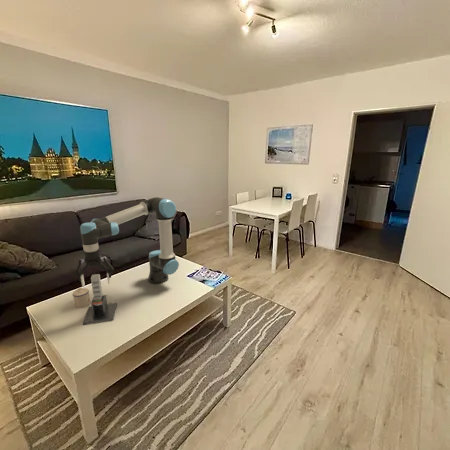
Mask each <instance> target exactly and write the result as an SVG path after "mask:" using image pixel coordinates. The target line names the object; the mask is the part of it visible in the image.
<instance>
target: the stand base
mask: <svg viewBox="0 0 450 450" xmlns="http://www.w3.org/2000/svg"><path fill="white" fill-rule="evenodd" d="M91 299H92V300H91V301H90V306H88V308H87V311H86V313H85V316H84V318H83V321H82V325H83V326H85V325H92V324H96V323H97V324H98V323H105V322H109V321H114V319H115V314H116V309H117V306H118V304H117V302H113V303H108V299H107V295H106V294H104V295H103V301H101V302H94V296H93V297H92V298H91ZM95 304H102V305H96V306H95Z"/></svg>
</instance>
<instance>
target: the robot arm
mask: <svg viewBox="0 0 450 450" xmlns="http://www.w3.org/2000/svg"><path fill="white" fill-rule="evenodd" d="M176 213H177V206H176V204H175V202H174V201H172V200H170V199H169V198H162V197H156V196H155V197H152V198H149V199H145V200H142V201H141V202H140V203H139V204H136V205H134V206H131V207H128V208H126V209H123V210H121V211H117V212H115V213H112V214H109V215H107V216H105V217H100V218H93V219H91V221H90V222H84V223H81V225H80V226H79V227H80V236H81V242H82V248H83V251H84V252H83V254H84V255H83V256H84V258H80V259H79V260H78V265H77V268H76V270H75V273H74V277H78V281H79V282H81V288H85V284H86V283H85V277H84V272H85V271H86V269H87V268H88V267H96V266H99V267H100V268H101V269H102V270H103V271H105V272H106V278H107V284H110V283H111V278H112V272H114V270H115V268H114V267H113V265H112V264H111V263H110V261H109V260H108V259H107V256H106V255H104V256H103V257H102V256H100V255H101V254H100V249H99V241H98V239H102V238H103V239H104V238H108V237H111V236H116V235H118V234H119V232H120V228H119V225H121V224H123V223H125V222H128V221H130V220H133V219H135V218H138V217H141V216H143V215H145V216H148V215H151V214H152V215H153V214H154V215H155V219H156V221H157V222H158V234H159V235H158V236H159V246H160V247H159V249H157V250H152V251H150V252H149V254H148V261H149V263H148V264H149V274H148V277H147V280H148V282H149V283H150V284H152V285H153V284H154V285H159V284H163V282H164V283H165V281H166V282H167V281H168V280H169V276H170V275H173V274H175V273H176V272H177V270H178V269H179V267H180V263H179V260H177V259H176V254H175V253H174V248H173V230H172V220H173V219H174V216H175V214H176ZM103 262H104V264H103ZM83 263H86V264H85V265H84V267H83V268H82V269H81V266H82V265H83ZM80 269H81V271H80Z"/></svg>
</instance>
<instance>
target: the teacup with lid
mask: <svg viewBox="0 0 450 450" xmlns="http://www.w3.org/2000/svg"><path fill="white" fill-rule="evenodd" d="M72 297H73V302H74V308H78V309H80V308H81V309H82V308H85V307H88V306H89V304H90V305H91V299H90V298H91V297H90V290H89V288H86V287H82V286H81V287H79V288H78V289H75V290H74V291H73V292H72Z"/></svg>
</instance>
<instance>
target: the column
mask: <svg viewBox="0 0 450 450" xmlns="http://www.w3.org/2000/svg"><path fill="white" fill-rule="evenodd" d="M90 281H91V282H90V283H91V290H92V293H93V294H92V296H93V297H94V302H101V301H103V287H102V280H101V274H100V273H97V274H96V273H95V274H91V277H90ZM96 305H102V304H95V306H96Z"/></svg>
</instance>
